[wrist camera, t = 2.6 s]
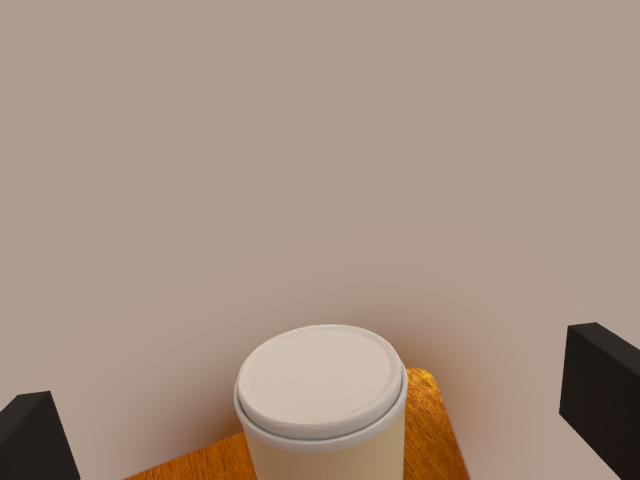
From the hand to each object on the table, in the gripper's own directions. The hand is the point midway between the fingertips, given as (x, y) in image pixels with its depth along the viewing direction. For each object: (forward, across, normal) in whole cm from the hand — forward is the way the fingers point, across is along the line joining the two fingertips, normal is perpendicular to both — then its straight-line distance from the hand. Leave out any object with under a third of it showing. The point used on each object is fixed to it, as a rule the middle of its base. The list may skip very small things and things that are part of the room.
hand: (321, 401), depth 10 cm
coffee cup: (+10, 0, -18) cm, 20 cm away
